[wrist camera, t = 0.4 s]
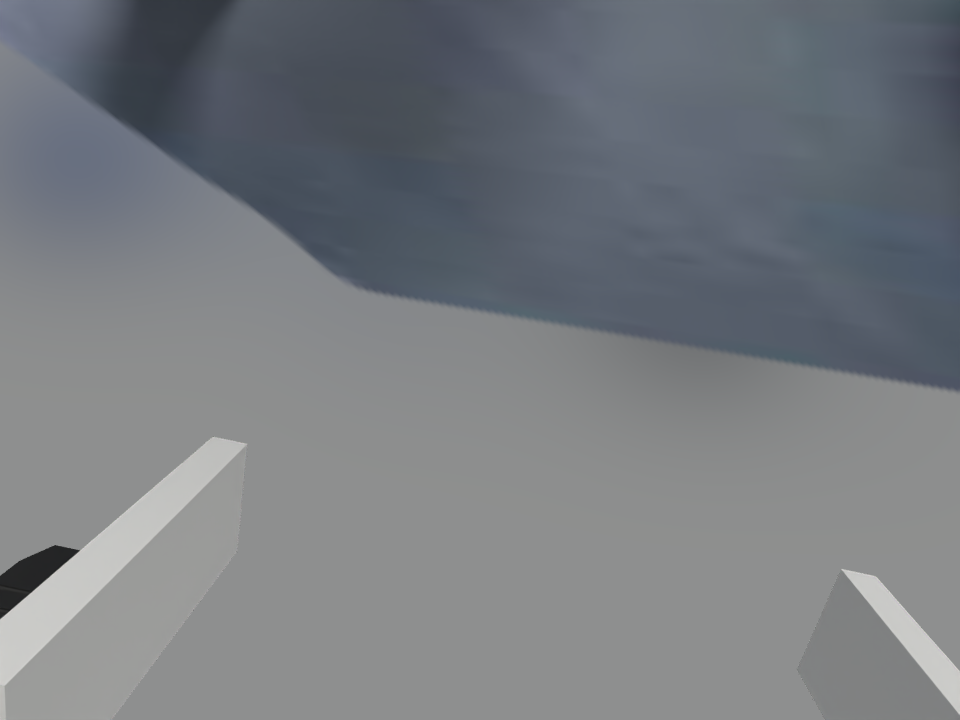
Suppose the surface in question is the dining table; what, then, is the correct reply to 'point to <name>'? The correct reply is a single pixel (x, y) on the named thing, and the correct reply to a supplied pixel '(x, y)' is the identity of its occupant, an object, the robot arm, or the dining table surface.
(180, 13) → the dining table surface
